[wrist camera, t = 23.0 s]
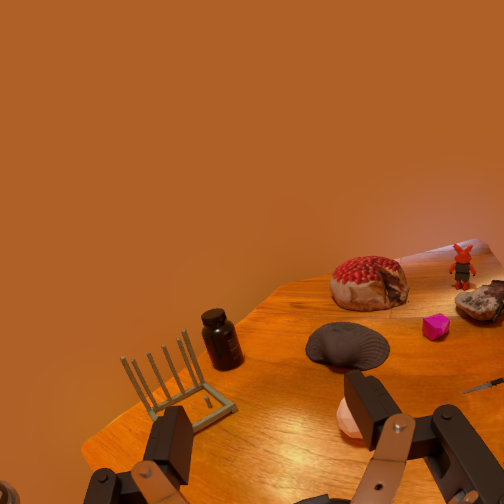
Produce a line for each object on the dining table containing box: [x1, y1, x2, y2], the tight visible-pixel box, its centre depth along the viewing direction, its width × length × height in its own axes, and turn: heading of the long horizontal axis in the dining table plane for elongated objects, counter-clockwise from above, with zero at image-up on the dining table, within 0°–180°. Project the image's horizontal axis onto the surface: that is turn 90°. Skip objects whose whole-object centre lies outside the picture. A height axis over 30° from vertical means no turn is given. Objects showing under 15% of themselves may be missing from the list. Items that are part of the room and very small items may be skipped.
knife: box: [460, 378, 504, 394], centre depth 28 cm, size 10×2×1 cm, turn 68°
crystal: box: [422, 313, 450, 340], centre depth 46 cm, size 5×5×5 cm
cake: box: [330, 256, 410, 311], centre depth 71 cm, size 23×24×10 cm
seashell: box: [305, 322, 390, 371], centre depth 51 cm, size 14×19×8 cm
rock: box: [455, 280, 504, 322], centre depth 45 cm, size 16×7×15 cm
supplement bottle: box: [201, 308, 243, 370], centre depth 56 cm, size 7×7×12 cm
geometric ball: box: [336, 397, 363, 439], centre depth 31 cm, size 8×8×8 cm
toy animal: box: [449, 244, 476, 290], centre depth 58 cm, size 8×6×12 cm
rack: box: [120, 329, 238, 433], centre depth 41 cm, size 13×11×13 cm
